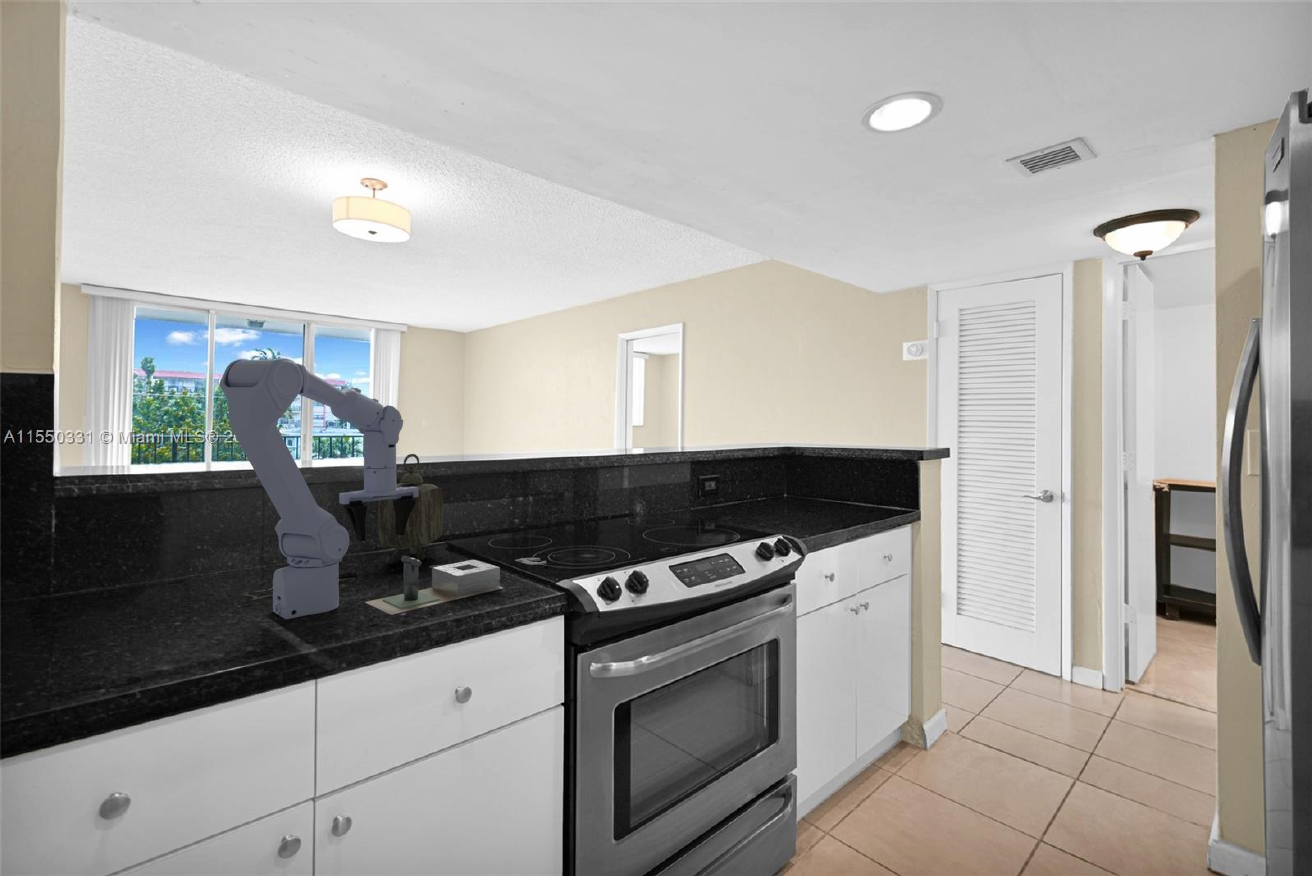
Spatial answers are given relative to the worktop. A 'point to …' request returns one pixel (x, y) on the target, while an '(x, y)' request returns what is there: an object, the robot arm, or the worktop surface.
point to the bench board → (394, 610)
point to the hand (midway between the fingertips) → (380, 537)
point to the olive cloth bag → (412, 516)
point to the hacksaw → (341, 575)
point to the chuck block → (465, 578)
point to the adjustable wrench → (524, 561)
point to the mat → (402, 604)
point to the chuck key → (410, 577)
